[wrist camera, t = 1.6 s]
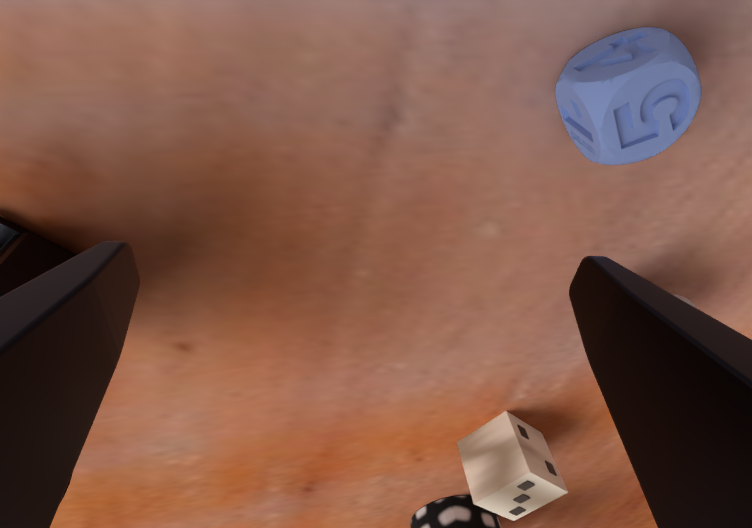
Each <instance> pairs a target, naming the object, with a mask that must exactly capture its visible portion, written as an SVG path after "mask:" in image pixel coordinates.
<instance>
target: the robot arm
mask: <svg viewBox="0 0 752 528" xmlns="http://www.w3.org/2000/svg"><path fill="white" fill-rule="evenodd" d="M139 284H140V279H139V273H138V270H137V266H136V263H135V259H134V256H133V252H132V249H131V246H130V245H129V243H127V242H125V241H102V242H100V243H98V244H97V245H95V246H93V247H91V248H89V249H87V250H86V251H84V252H82V253H80V254H78V255H76V254H74V253H72V252H70V251H68V250H66V249H64V248H62V247H60V246H58V245H56V244H54V243H52V242H50V241H48V240H46V239H44V238H42V237H40V236H38V235H36V234H34V233H32V232H30V231H28V230H26V229H24V228H22V227H20V226H18V225H16V224H14V223H13V222H11V221H9V220H7V219H5V218H3V217H1V216H0V528H50V525H51V523H52V521H53V518H54V516H55V513H56V511H57V508H58V506H59V504H60V502H61V501H62V499H63V497H64V495H65V493H66V491H67V488H68V486H69V484H70V480H71V477H72V473H73V470H74V467H75V465H76V462H77V460H78V458H79V455H80V453H81V450H82V448H83V446H84V443H85V441H86V438H87V436H88V433H89V431H90V429H91V426H92V424H93V421H94V419H95V417H96V414H97V412H98V409H99V407H100V404H101V402H102V400H103V397H104V395H105V392H106V390H107V387H108V385H109V383H110V380H111V378H112V375H113V373H114V371H115V368H116V366H117V363H118V360H119V358H120V355H121V352H122V348H123V345H124V341H125V338H126V334H127V330H128V327H129V323H130V319H131V315H132V312H133V308H134V304H135V301H136V297H137V293H138V290H139ZM569 296H570V300H571V304H572V307H573V311H574V314H575V318H576V321H577V324H578V328H579V331H580V335H581V338H582V342H583V345H584V348H585V352H586V355H587V358H588V360H589V363H590V366H591V368H592V371H593V373H594V375H595V378H596V380H597V383H598V385H599V387H600V390H601V392H602V395H603V397H604V399H605V402H606V404H607V407H608V409H609V411H610V414H611V416H612V419H613V421H614V423H615V426H616V428H617V431H618V433H619V435H620V438H621V440H622V443H623V445H624V447H625V450H626V452H627V455H628V457H629V459H630V462H631V464H632V467H633V469H634V471H635V474H636V476H637V479H638V481H639V483H640V486H641V488H642V490H643V493H644V495H645V498H646V500H647V502H648V505H649V507H650V510H651V512H652V514H653V517H654V519H655V522H656V524H657V526H658V528H752V340H751V339H749V338H747V337H746V336H744V335H742V334H740V333H739V332H737V331H735V330H733V329H732V328H730V327H728V326H726V325H725V324H723V323H721V322H719V321H718V320H716V319H714V318H712V317H711V316H709V315H707V314H705V313H704V312H702V311H700V310H698V309H697V308H695V307H693V306H691V305H690V304H688V303H686V302H684V301H683V300H681V299H679V298H677V297H676V296H674V295H672V294H670V293H669V292H667V291H665V290H663V289H662V288H660V287H658V286H656V285H655V284H653V283H651V282H649V281H648V280H646V279H644V278H642V277H641V276H639V275H637V274H635V273H634V272H632V271H630V270H628V269H627V268H625V267H623V266H621V265H620V264H618V263H616V262H614V261H613V260H611V259H609V258H607V257H604V256H587V257H585V258H583V260H582V261H581V263H580V265H579V267H578V269H577V272H576V274H575V276H574V278H573V280H572V283H571V285H570V289H569Z"/></svg>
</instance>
